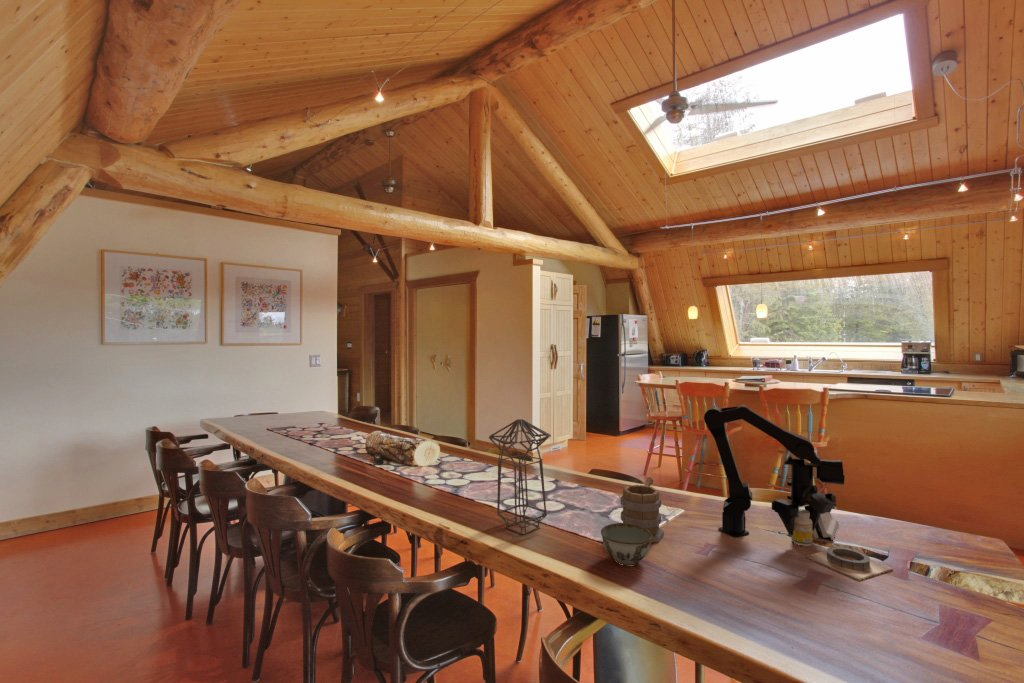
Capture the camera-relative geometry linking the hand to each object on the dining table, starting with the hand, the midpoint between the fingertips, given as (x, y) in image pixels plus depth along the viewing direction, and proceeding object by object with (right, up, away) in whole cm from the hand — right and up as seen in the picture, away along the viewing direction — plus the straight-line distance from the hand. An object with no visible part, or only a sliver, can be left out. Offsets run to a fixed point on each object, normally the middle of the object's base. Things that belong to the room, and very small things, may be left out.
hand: (801, 532), depth 145 cm
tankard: (-44, -3, +9) cm, 45 cm away
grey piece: (+12, -3, +10) cm, 16 cm away
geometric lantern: (-84, -3, +12) cm, 84 cm away
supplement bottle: (0, -3, 0) cm, 3 cm away
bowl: (-55, -4, -12) cm, 56 cm away
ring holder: (+5, -3, -13) cm, 14 cm away
